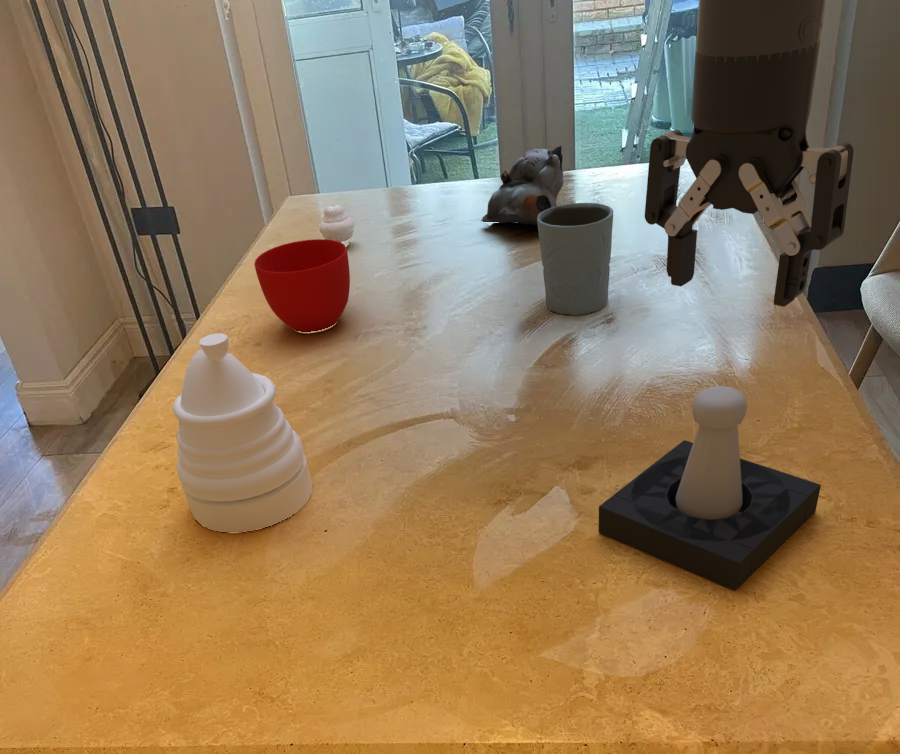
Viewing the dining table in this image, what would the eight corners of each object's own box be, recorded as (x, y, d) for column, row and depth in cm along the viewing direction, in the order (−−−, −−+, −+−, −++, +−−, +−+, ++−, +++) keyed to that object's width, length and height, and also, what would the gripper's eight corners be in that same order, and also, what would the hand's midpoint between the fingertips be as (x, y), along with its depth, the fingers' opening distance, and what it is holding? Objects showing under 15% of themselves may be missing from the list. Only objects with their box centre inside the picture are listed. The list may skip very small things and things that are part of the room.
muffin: (326, 242, 152) (318, 201, 148) (359, 238, 152) (352, 197, 147) (320, 254, 148) (312, 211, 143) (355, 250, 147) (347, 208, 142)
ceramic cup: (387, 299, 128) (376, 231, 122) (330, 347, 117) (315, 275, 110) (315, 294, 133) (301, 228, 126) (254, 339, 122) (235, 270, 115)
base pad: (682, 465, 85) (684, 439, 84) (815, 512, 77) (821, 484, 75) (598, 532, 78) (598, 506, 77) (735, 591, 70) (739, 563, 68)
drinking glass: (573, 323, 114) (572, 231, 107) (525, 304, 121) (520, 216, 113) (627, 300, 118) (630, 209, 111) (577, 283, 125) (577, 196, 117)
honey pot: (337, 490, 89) (298, 324, 77) (235, 549, 83) (176, 379, 71) (267, 452, 96) (223, 297, 85) (169, 504, 90) (107, 344, 79)
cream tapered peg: (670, 537, 77) (680, 408, 68) (676, 502, 81) (687, 376, 72) (737, 544, 75) (756, 412, 67) (741, 507, 79) (759, 378, 71)
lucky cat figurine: (472, 223, 151) (490, 138, 147) (534, 240, 155) (553, 157, 151) (499, 218, 138) (519, 124, 133) (565, 237, 141) (587, 146, 137)
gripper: (897, 27, 51) (846, 292, 62) (690, 27, 60) (676, 261, 70) (840, 52, 48) (796, 330, 58) (628, 49, 56) (623, 292, 66)
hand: (731, 292), depth 64 cm, fingers open, 8 cm apart
